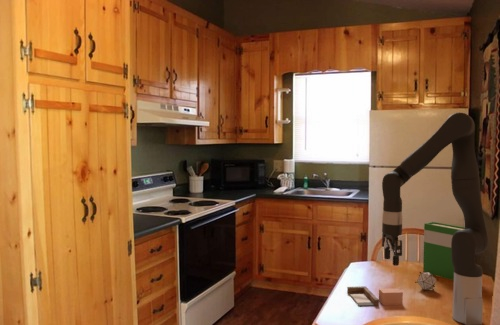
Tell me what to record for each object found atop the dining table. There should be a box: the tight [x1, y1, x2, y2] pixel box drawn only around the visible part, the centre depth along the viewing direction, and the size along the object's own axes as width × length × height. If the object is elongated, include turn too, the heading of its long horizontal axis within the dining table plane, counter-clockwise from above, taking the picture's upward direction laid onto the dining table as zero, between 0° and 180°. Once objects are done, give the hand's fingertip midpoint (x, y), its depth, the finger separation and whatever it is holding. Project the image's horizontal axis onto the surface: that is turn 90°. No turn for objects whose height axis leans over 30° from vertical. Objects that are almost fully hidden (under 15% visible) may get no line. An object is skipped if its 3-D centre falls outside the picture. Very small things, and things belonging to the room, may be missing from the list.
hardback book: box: [422, 221, 465, 281], centre depth 204 cm, size 18×7×24 cm, turn 36°
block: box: [378, 287, 404, 306], centre depth 172 cm, size 4×8×5 cm, turn 93°
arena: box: [346, 285, 380, 307], centre depth 176 cm, size 15×8×2 cm, turn 4°
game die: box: [414, 271, 439, 292], centre depth 185 cm, size 9×8×10 cm
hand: (391, 262), depth 171 cm, fingers open, 8 cm apart
